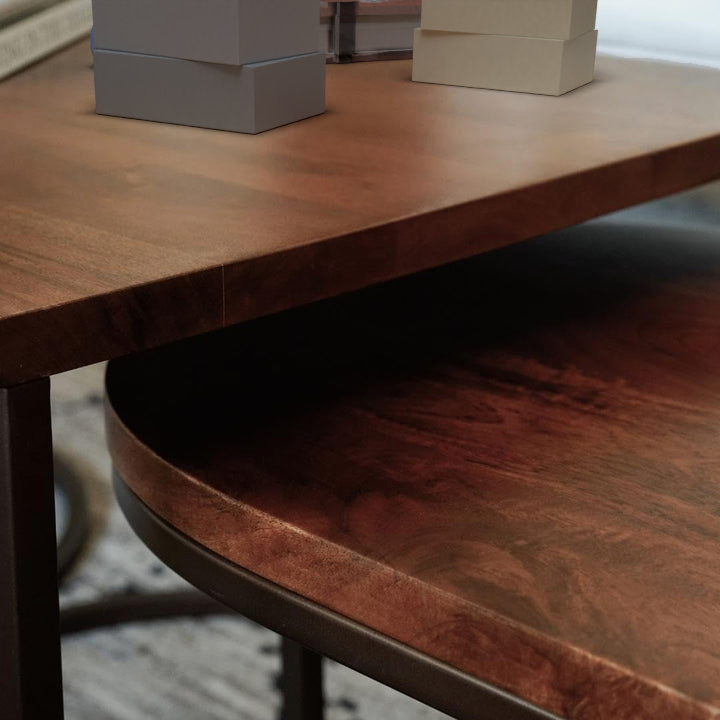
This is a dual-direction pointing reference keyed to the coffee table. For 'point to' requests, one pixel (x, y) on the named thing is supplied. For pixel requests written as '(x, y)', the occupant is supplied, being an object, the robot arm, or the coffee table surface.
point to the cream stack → (507, 44)
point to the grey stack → (209, 62)
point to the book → (368, 29)
